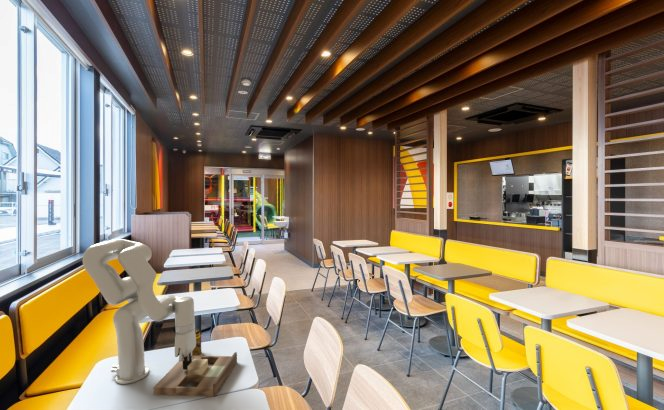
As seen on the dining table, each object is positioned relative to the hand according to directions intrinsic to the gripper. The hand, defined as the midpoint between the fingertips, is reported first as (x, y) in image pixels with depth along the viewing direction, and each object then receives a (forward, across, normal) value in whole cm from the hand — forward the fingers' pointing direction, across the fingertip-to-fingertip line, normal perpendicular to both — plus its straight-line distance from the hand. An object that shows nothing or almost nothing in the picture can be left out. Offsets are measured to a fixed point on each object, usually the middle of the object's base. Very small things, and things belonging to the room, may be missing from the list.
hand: (187, 368), depth 141 cm
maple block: (+1, 0, +5) cm, 5 cm away
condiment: (+4, -18, -7) cm, 20 cm away
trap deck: (+4, 0, +5) cm, 6 cm away
